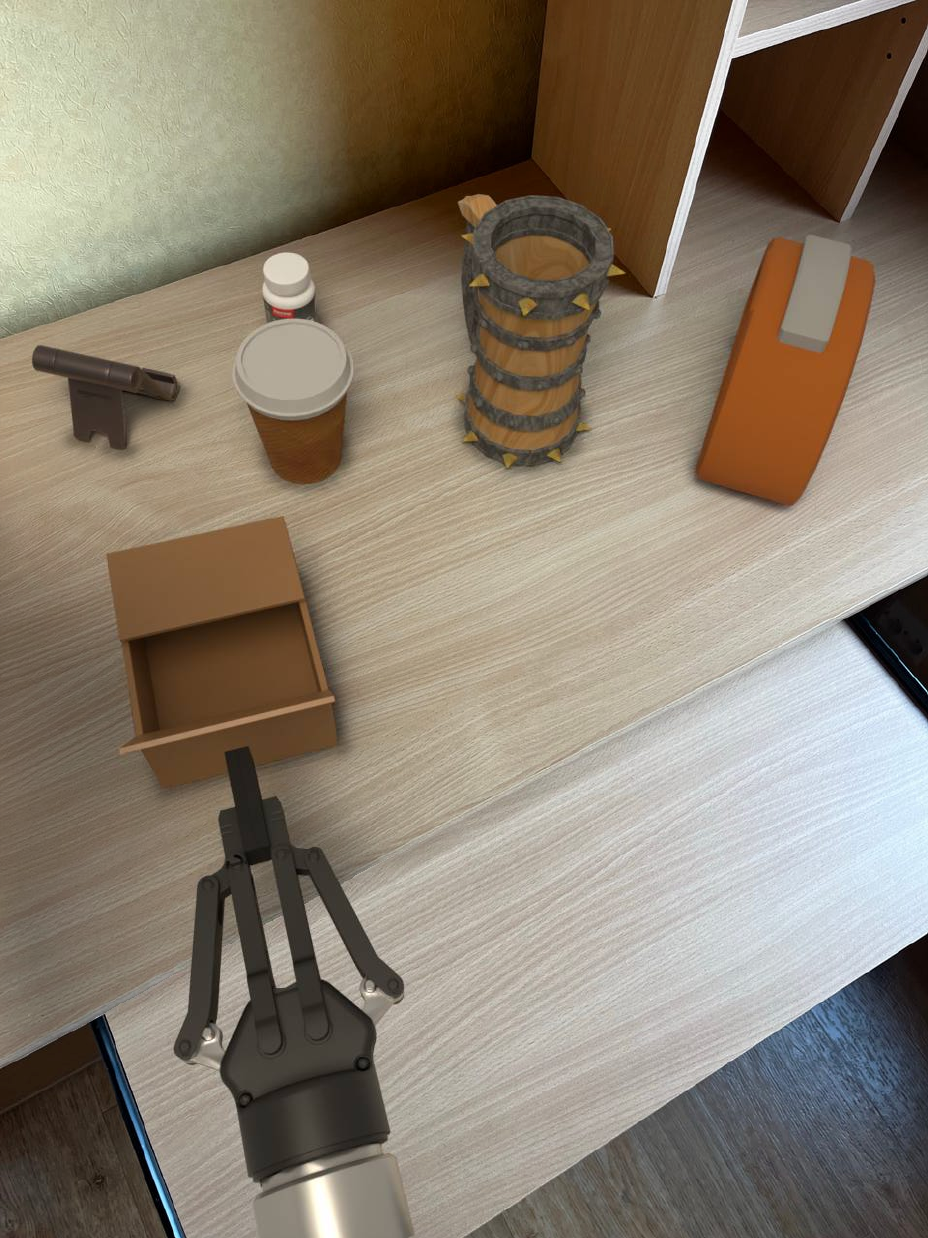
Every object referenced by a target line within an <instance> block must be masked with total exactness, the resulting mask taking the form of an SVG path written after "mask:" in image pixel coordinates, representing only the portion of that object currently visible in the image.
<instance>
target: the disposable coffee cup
mask: <svg viewBox="0 0 928 1238" xmlns="http://www.w3.org/2000/svg"><path fill="white" fill-rule="evenodd" d="M354 369H355V367H354V361H353V357H352V355H351V352H350V351H349V349H348V348H347V347H346V345H345V344H344V343H343V341H342V339H341V338H340V337H339V335H338V334H336V333H335V331H333V330H332V329H331V328H329V327H327V326H325V325H324V324H322V323H320V322H318V323H317V322H314V321H310V320H305V319H282V320H277V321H273V322H270V323H267V322H266V323H265V324H263V325H261V326H259V327H257V328H255V329H254V330H252V332H251V333H249V334H248V335H247V336H246V337H244V339H243V340H242V341H241V344H240V345H239V346H238V350H237V352H236V356H235V358H234V361H233V363H232V369H231V377H232V382H233V386H234V388H235V390H236V392H237V393H238V395H239V396H240V398H241V399H242V400H243V401H244V403H246V405H247V406H246V407H247V408H248V410H249V414H250V416H251V419H252V420H253V423H254V425H255V428H256V431H257V433H258V436H259V438H260V440H261V443H262V446H263V447H264V450H265V453H266V455H267V458H268V460H269V463H270V465H271V469H272V470H273V471H274V472H275V474H277V476H279V477H280V478H282V479H284V480H285V481H287V482H290V483H294V484H301V485H308V484H314V483H318V482H321V481H323V480H325V479H327V478H329V477H330V476H332V475H333V474H334V472H336V470H337V469H338V468H339V466H340V464H341V461H342V455H343V441H344V431H345V423H346V422H345V421H346V411H347V402H348V401H347V400H348V399H347V398H348V391H349V389H350V387H351V384H352V382H353V379H354Z"/></svg>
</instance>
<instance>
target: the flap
mask: <svg viewBox="0 0 928 1238" xmlns="http://www.w3.org/2000/svg"><path fill="white" fill-rule="evenodd" d="M328 689H329V688H328ZM328 689H327V690H323V691H319V692H315V693H310V694H306V695H302V696H298V697H294V698H290V699H286V700H282V701H278V702H274V703H270V704H266V705H261V706H257V707H253V708H249V709H245V710H241V711H237V712H233V713H229V714H225V715H221V716H216V717H212V718H208V719H204V720H200V721H196V722H192V723H188V724H184V725H180V726H176V727H172V728H167V729H163V730H159V731H155V732H151V733H147V734H143V735H139V736H136V735H135V736H134V737H132V738H131V739H129V740H128V741H127V742H125V743H124V744H122V745H121V746H120V747H118V749H117V750H118V754H119V755H120V756H121V755H125V754H129V753H134V752H138V751H141V750H142V749H146V748H150V747H154V746H158V745H162V744H166V743H170V742H174V741H178V740H182V739H186V738H190V737H194V736H198V735H202V734H207V733H211V732H215V731H219V730H223V729H227V728H231V727H235V726H239V725H243V724H247V723H251V722H255V721H259V720H263V719H267V718H271V717H275V716H279V715H283V714H287V713H292V712H296V711H300V710H304V709H308V708H312V707H316V706H320V705H324V704H328V703H331V704H332V703H335V702H336V698H335V697H336V696H335V695H334V694H333V692H332V691H330V690H328Z"/></svg>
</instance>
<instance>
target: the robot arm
mask: <svg viewBox="0 0 928 1238" xmlns="http://www.w3.org/2000/svg"><path fill="white" fill-rule="evenodd" d="M224 753H225V758H226V763H227V768H228V773H227V774H228V777H229V783H230V790H231V794H232V799H233V804H234V806H233V807H229V808H225V809H221V810H219V814H218V819H217V821H218V825H219V826H218V827H219V831H220V836H221V842H222V846H223V847H222V848H223V853H224V863H223V865H222V866H221V867H220V869H218V870H216V871H215V872H214V873H212V874H208V875H204V876H202V877H201V878H200V879H199V880H198V882H197V886H196V897H195V899H196V900H195V909H194V910H195V913H194V925H193V939H192V950H191V951H192V952H191V963H190V977H189V978H190V979H189V990H188V991H189V992H188V1003H187V1013H186V1015H185V1018H184V1020H183V1023H182V1024H181V1026H180V1029H179V1032H178V1034H177V1036H176V1039H175V1041H174V1044H173V1053H174V1054H175V1056H176V1057H177V1058H178V1059H179V1060H181V1061H182V1062H184V1063H185V1064H187V1065H188V1066H195V1065H201V1066H204V1067H206V1068H209V1069H212V1070H215V1071H218V1072H219V1075H220V1079H221V1081H222V1083H223V1084H224V1086H225V1087H226V1088H227V1089H228V1090H229V1092H230V1093H231V1096H232V1097H233V1099H234V1103H235V1108H236V1114H237V1119H238V1126H239V1132H240V1137H241V1143H242V1150H243V1155H244V1159H245V1160H244V1161H245V1166H246V1172H247V1177H248V1179H249V1178H250V1179H252V1181H253V1183H255V1184H259V1185H260V1187H261V1189H262V1192H260V1193H258V1194H256V1195H255V1198H254V1200H253V1202H252V1208H253V1214H254V1219H255V1225H256V1230H257V1236H258V1238H412V1237H415V1236H416V1234H415V1230H414V1225H413V1221H412V1217H411V1211H410V1209H409V1204H408V1200H407V1196H406V1191H405V1187H404V1184H403V1178H402V1173H401V1170H400V1166H399V1161H398V1158H397V1156H396V1155H394V1154H393V1153H391V1152H385V1153H384V1149H383V1144H385V1143H387V1142H388V1141H389V1135H390V1134H391V1132H392V1131H391V1129H390V1128H391V1127H390V1124H389V1119H388V1115H387V1111H386V1106H385V1102H384V1098H383V1094H382V1089H381V1086H380V1085H381V1084H380V1082H379V1077H378V1073H377V1068H376V1064H375V1059H374V1052H375V1047H376V1043H377V1037H378V1035H377V1034H378V1033H377V1029H376V1025H377V1024H378V1023H379V1022H380V1021H381V1019H382V1018H383V1017H384V1016H385V1015H386V1014H387V1012H388V1011H389V1010H390V1009H391V1008H392V1007H393V1005H394V1006H395V1005H398V1004H400V1003H401V1002H403V999H404V998H405V983H404V979H403V978H402V977H401V975H399V974H398V973H397V972H396V971H395V970H394V969H393V968H392V967H391V966H389V965H388V964H387V963H386V962H385V961H384V960H382V959H381V957H380V956H378V954H377V952H376V950H375V948H374V946H373V944H372V942H371V941H370V938H369V936H368V935H367V933H366V931H365V929H364V926H363V925H362V923H361V921H360V919H359V917H358V916H357V913H356V912H355V910H354V908H353V906H352V904H351V901H350V900H349V898H348V896H347V894H346V893H345V890H344V889H343V887H342V885H341V883H340V881H339V879H338V877H337V875H336V874H335V871H334V870H333V868H332V866H331V863H330V861H329V860H328V858H327V856H326V854H325V853H324V851H323V850H322V848H321V847H318V846H311V847H309V848H302V847H298V846H295V845H294V844H292V842H291V838H290V833H289V829H288V824H287V820H286V815H285V810H284V808H283V805H282V802H281V800H280V799H279V797H278V796H277V795H275V796H271V797H267V798H263V797H262V793H261V788H260V784H259V783H260V782H259V778H258V773H257V768H256V766H255V763H254V760H253V757H252V755H251V752H250V749H249V746H246V747H242V748H238V749H234V750H230V751H226V752H224ZM269 861H270V862H271V863H272V868H273V874H274V878H275V882H276V887H277V892H278V897H279V902H280V907H281V912H282V916H283V921H284V927H285V931H286V936H287V941H288V946H289V951H290V956H291V960H292V968H293V973H294V977H295V981H294V982H293V983H291V984H289V985H287V986H286V987H277V985H276V981H275V977H274V974H273V973H274V972H273V969H272V963H271V959H270V953H269V949H268V944H267V938H266V933H265V929H264V923H263V918H262V914H261V910H260V909H261V908H260V904H259V899H258V894H257V889H256V885H255V879H254V875H253V872H252V868H251V867H252V866H256V865H259V864H263V863H267V862H269ZM300 876H306V877H307V876H308V877H310V880H311V882H312V884H313V886H314V888H315V890H316V892H317V893H318V894H317V895H318V896H319V898H320V900H321V902H322V903H323V906H324V907H325V910H326V912H327V913H328V916H329V917H330V919H331V921H332V923H333V925H334V928H335V929H336V931H337V933H338V935H339V937H340V939H341V941H342V942H343V945H344V947H345V949H346V951H347V952H348V954H349V957H350V958H351V961H352V962H353V964H354V966H355V968H356V970H357V972H358V973H359V975H360V977H361V979H362V980H361V981H360V984H359V992H360V996H361V997H362V999H363V1001H364V1005H363V1008H362V1009H361V1008H360V1007H359V1006H358V1005H357V1004H355V1003H354V1002H353V1001H352V1000H351V999H349V997H347V996H345V994H343V992H341V991H340V990H339V989H338V988H337V987H335V986H334V985H333V984H332V983H331V982H329V981H328V980H325V979H322V978H321V973H320V970H319V966H318V961H317V956H316V951H315V947H314V943H313V939H312V938H313V937H312V933H311V929H310V924H309V923H310V922H309V919H308V914H307V910H306V905H305V900H304V897H303V891H302V887H301V882H300V878H299V877H300ZM230 896H231V901H232V904H233V911H234V915H235V916H234V917H235V921H236V926H237V931H238V937H239V941H240V948H241V953H242V957H243V962H244V969H245V974H246V984H247V989H248V994H249V1001H248V1002H247V1003H246V1004H245V1006H244V1008H243V1010H242V1013H241V1015H240V1017H239V1020H238V1022H237V1024H236V1026H235V1029H234V1031H233V1034H232V1035H231V1038H230V1040H229V1042H228V1044H227V1047H226V1049H224V1046H223V1040H224V1039H223V1038H224V1035H223V1031H222V1030H221V1028H220V1027H218V1025H217V1020H218V1012H219V999H220V987H221V986H220V985H221V969H222V956H223V955H222V953H223V940H224V939H223V938H224V921H225V907H226V906H225V905H226V899H227V898H229V897H230Z"/></svg>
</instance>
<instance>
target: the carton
mask: <svg viewBox="0 0 928 1238" xmlns="http://www.w3.org/2000/svg"><path fill="white" fill-rule="evenodd" d="M106 561H107V567H108V575H109V580H110V586H111V587H110V588H111V593H112V599H113V607H114V613H115V619H116V625H117V633H118V638H119V642H120V643H121V651H122V656H123V662H124V669H125V676H126V682H127V689H128V695H129V702H130V707H131V714H132V720H133V727H134V733H135V736H139V735H143V734H147V733H151V732H155V731H159V730H163V729H167V728H172V727H176V726H180V725H184V724H188V723H192V722H196V721H200V720H204V719H208V718H212V717H216V716H221V715H225V714H229V713H233V712H237V711H241V710H245V709H249V708H253V707H257V706H261V705H266V704H270V703H274V702H278V701H282V700H286V699H290V698H294V697H298V696H302V695H306V694H310V693H315V692H319V691H323V690H327V689H328V690H329V685H328V681H327V678H326V674H325V670H324V666H323V663H322V659H321V654H320V650H319V647H318V643H317V640H316V635H315V632H314V627H313V624H312V619H311V616H310V612H309V608H308V604H307V600H306V597H305V593H304V589H303V585H302V581H301V578H300V573H299V570H298V565H297V562H296V558H295V553H294V550H293V546H292V542H291V538H290V535H289V531H288V527H287V523H286V520H285V516H284V515H281V516H276V517H271V518H266V519H262V520H258V521H253V522H248V523H244V524H238V525H234V526H230V527H225V528H220V529H215V530H209V531H206V532H202V533H197V534H192V535H187V536H183V537H177V538H172V539H168V540H165V541H159V542H154V543H150V544H144V545H141V546H137V547H131V548H127V549H121V550H117V551H112V552H108V553H106ZM329 691H330V690H329ZM246 746H249V749H250V752H251V755H252V757H253V760H254V763H255V767H257V766H260V765H264V764H269V763H273V762H277V761H280V760H284V759H288V758H292V757H296V756H300V755H303V754H308V753H312V752H315V751H320V750H325V749H328V748H332V747H336V746H339V741H338V734H337V728H336V722H335V717H334V711H333V705H332V703H328V704H324V705H320V706H316V707H312V708H308V709H304V710H300V711H296V712H292V713H287V714H283V715H279V716H275V717H271V718H267V719H263V720H259V721H255V722H251V723H247V724H243V725H239V726H235V727H231V728H227V729H223V730H219V731H215V732H211V733H207V734H202V735H198V736H194V737H190V738H186V739H182V740H178V741H174V742H170V743H166V744H162V745H158V746H154V747H150V748H146V749H142V750H140V751H141V753H142V754H143V756H144V758H145V759H146V762H147V763H148V764H149V766H150V768H151V770H152V771H153V773H154V775H155V777H156V778H157V781H158V782H159V784H160V785H161V787H162V789H163V790H166V789H171V788H174V787H178V786H182V785H185V784H189V783H194V782H198V781H202V780H206V779H209V778H214V777H217V776H222V775H225V774H229V773H228V768H227V763H226V758H225V753H224V752H226V751H230V750H234V749H238V748H242V747H246Z"/></svg>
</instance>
